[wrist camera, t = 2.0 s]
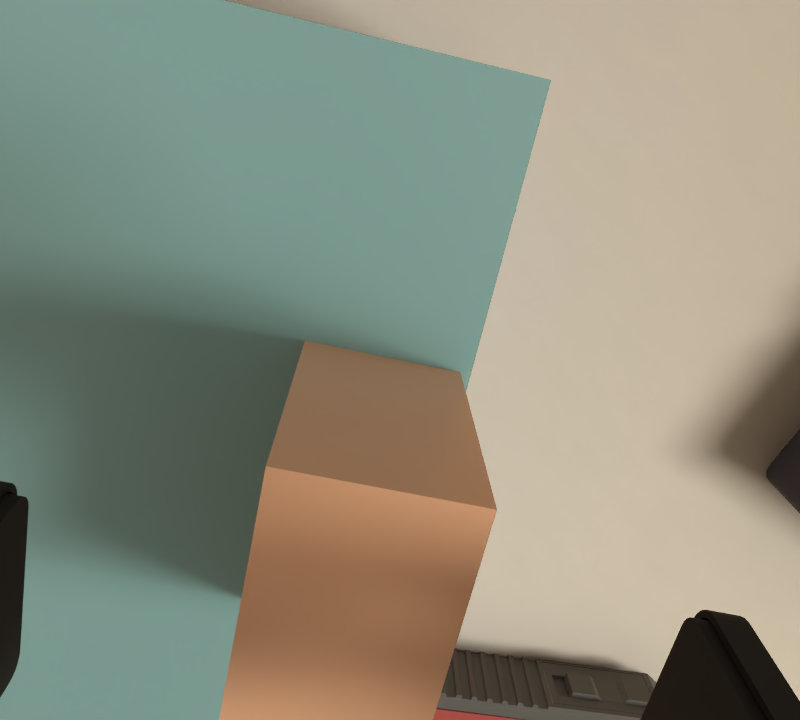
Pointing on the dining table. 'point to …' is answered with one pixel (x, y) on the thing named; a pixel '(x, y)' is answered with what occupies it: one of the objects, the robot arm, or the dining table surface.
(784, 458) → the calculator
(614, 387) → the dining table surface
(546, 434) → the dining table surface
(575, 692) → the walkie-talkie
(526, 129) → the lid
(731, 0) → the dining table surface
